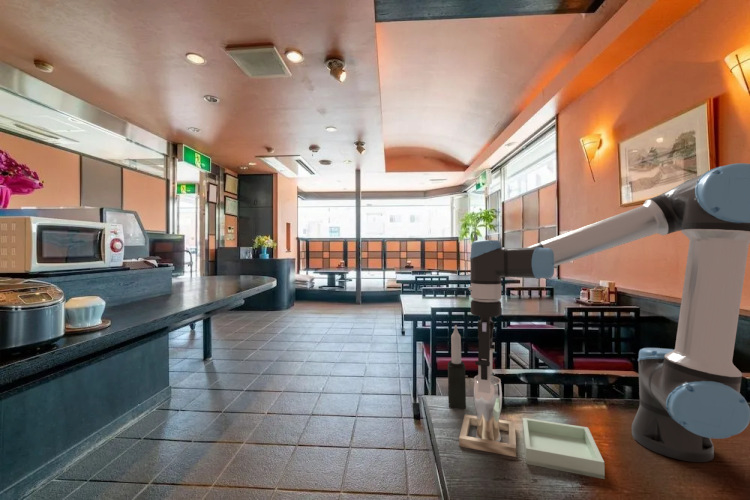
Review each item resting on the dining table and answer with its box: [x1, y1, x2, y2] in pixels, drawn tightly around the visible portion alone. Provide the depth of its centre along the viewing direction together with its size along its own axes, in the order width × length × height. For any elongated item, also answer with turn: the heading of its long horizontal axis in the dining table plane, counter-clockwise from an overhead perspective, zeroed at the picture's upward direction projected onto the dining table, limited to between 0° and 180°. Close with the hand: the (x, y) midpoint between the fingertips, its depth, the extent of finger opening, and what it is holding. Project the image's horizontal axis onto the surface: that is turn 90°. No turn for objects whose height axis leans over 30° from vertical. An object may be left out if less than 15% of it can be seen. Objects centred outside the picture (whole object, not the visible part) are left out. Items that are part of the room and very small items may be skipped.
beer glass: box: [472, 374, 503, 442], centre depth 87 cm, size 7×7×15 cm
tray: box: [522, 417, 606, 480], centre depth 80 cm, size 15×15×4 cm
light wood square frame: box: [458, 413, 517, 458], centre depth 87 cm, size 13×13×2 cm
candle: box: [447, 324, 467, 410], centre depth 105 cm, size 5×5×25 cm
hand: (485, 381), depth 87 cm, fingers open, 13 cm apart
